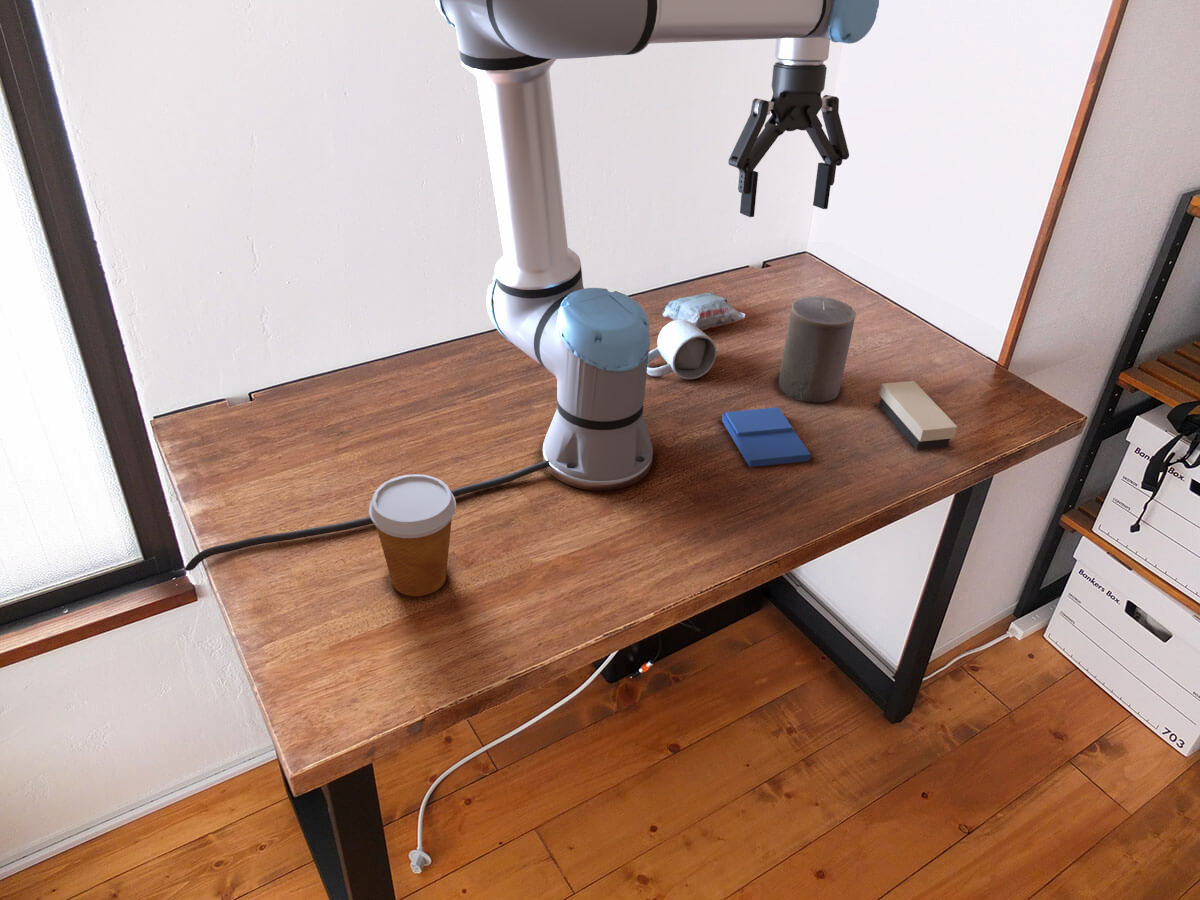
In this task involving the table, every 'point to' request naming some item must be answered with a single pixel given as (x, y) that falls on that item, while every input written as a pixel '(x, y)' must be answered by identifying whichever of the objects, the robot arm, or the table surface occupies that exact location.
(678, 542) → the table surface
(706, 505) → the table surface
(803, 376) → the pillar candle
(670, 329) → the ceramic mug
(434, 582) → the disposable coffee cup
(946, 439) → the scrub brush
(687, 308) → the packaged food
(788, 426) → the blue dish cloth
